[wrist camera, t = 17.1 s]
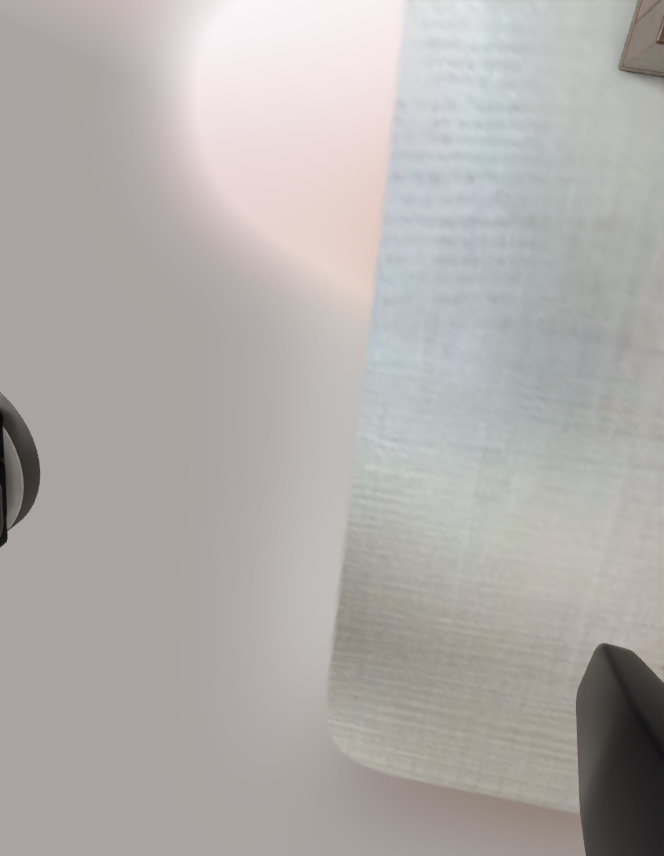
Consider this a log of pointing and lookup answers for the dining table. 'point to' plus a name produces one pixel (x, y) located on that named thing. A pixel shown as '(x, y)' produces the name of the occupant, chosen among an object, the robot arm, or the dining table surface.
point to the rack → (645, 40)
